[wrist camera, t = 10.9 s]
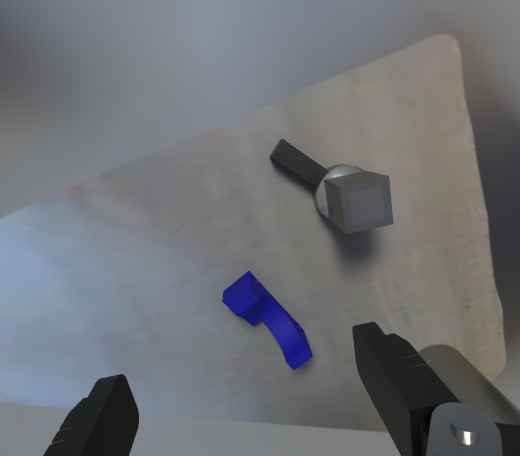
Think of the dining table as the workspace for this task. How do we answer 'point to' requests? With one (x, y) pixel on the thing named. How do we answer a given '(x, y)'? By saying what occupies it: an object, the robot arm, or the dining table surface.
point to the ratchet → (310, 171)
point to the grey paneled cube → (359, 201)
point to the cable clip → (268, 317)
